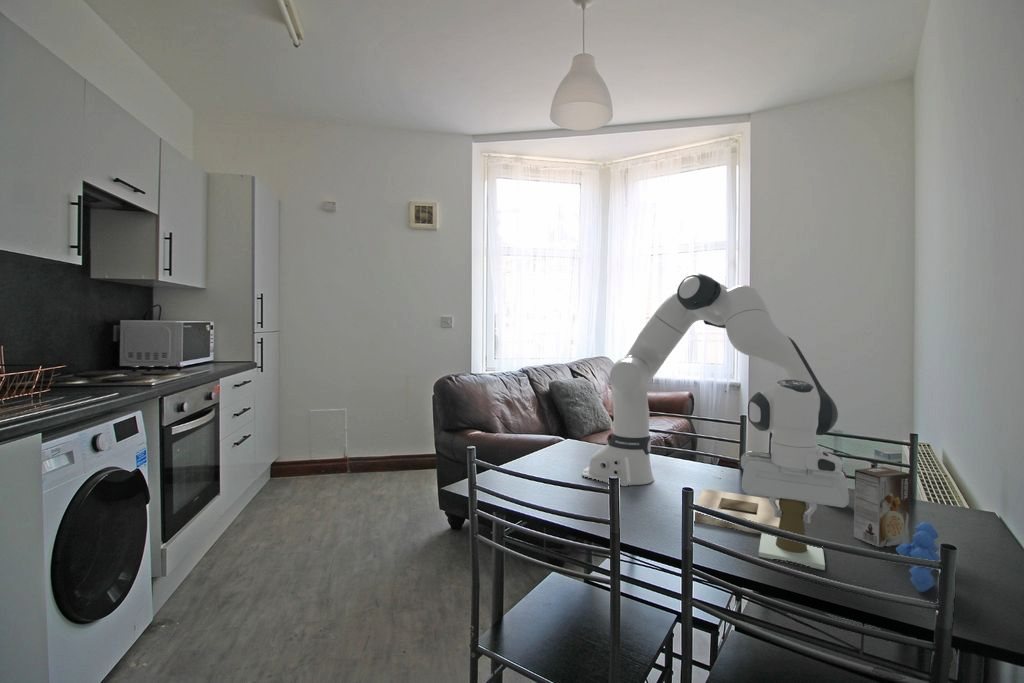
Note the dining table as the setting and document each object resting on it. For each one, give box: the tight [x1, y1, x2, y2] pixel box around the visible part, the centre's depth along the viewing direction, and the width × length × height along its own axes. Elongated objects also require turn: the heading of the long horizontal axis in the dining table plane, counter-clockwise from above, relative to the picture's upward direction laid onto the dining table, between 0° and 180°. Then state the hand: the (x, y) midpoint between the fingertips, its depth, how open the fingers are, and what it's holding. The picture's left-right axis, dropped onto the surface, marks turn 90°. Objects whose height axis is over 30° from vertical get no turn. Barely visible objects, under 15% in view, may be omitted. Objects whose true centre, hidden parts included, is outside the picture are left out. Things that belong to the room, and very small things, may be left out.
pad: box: [758, 533, 826, 571], centre depth 110 cm, size 12×12×1 cm
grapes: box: [895, 521, 941, 593], centre depth 96 cm, size 12×7×12 cm, turn 135°
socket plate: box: [694, 488, 780, 535], centre depth 130 cm, size 20×20×2 cm
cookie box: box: [853, 466, 911, 548], centre depth 116 cm, size 9×6×16 cm
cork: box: [776, 498, 807, 553], centre depth 110 cm, size 6×6×11 cm
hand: (792, 519), depth 109 cm, fingers closed on cork, 4 cm apart
